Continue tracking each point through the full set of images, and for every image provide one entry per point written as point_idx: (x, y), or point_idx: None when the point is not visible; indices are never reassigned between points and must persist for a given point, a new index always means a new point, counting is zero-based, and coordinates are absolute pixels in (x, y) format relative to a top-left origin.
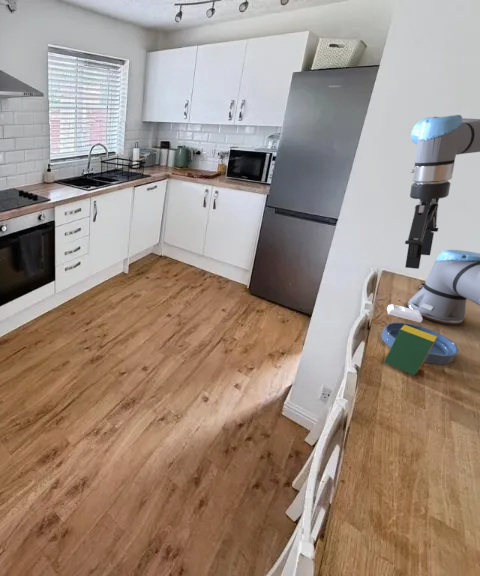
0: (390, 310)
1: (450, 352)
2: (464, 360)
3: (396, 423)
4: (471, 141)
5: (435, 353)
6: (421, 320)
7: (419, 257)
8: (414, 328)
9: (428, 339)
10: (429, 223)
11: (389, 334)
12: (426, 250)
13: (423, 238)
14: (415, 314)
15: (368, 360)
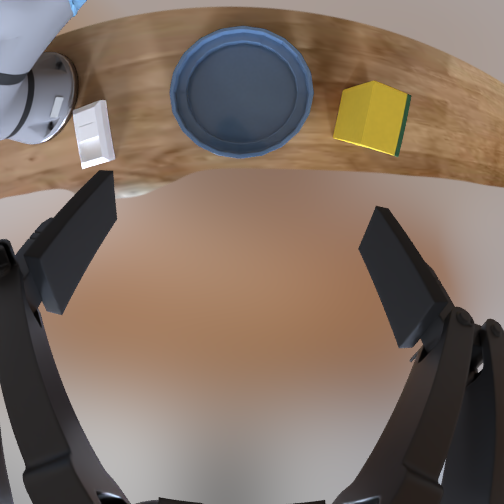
0: (108, 159)
1: (241, 37)
2: (224, 17)
3: (488, 143)
4: None
5: (246, 59)
6: (101, 100)
7: (413, 247)
8: (367, 124)
9: (404, 102)
10: (43, 363)
11: (278, 147)
12: (102, 199)
13: (75, 268)
14: (96, 115)
15: (369, 170)
